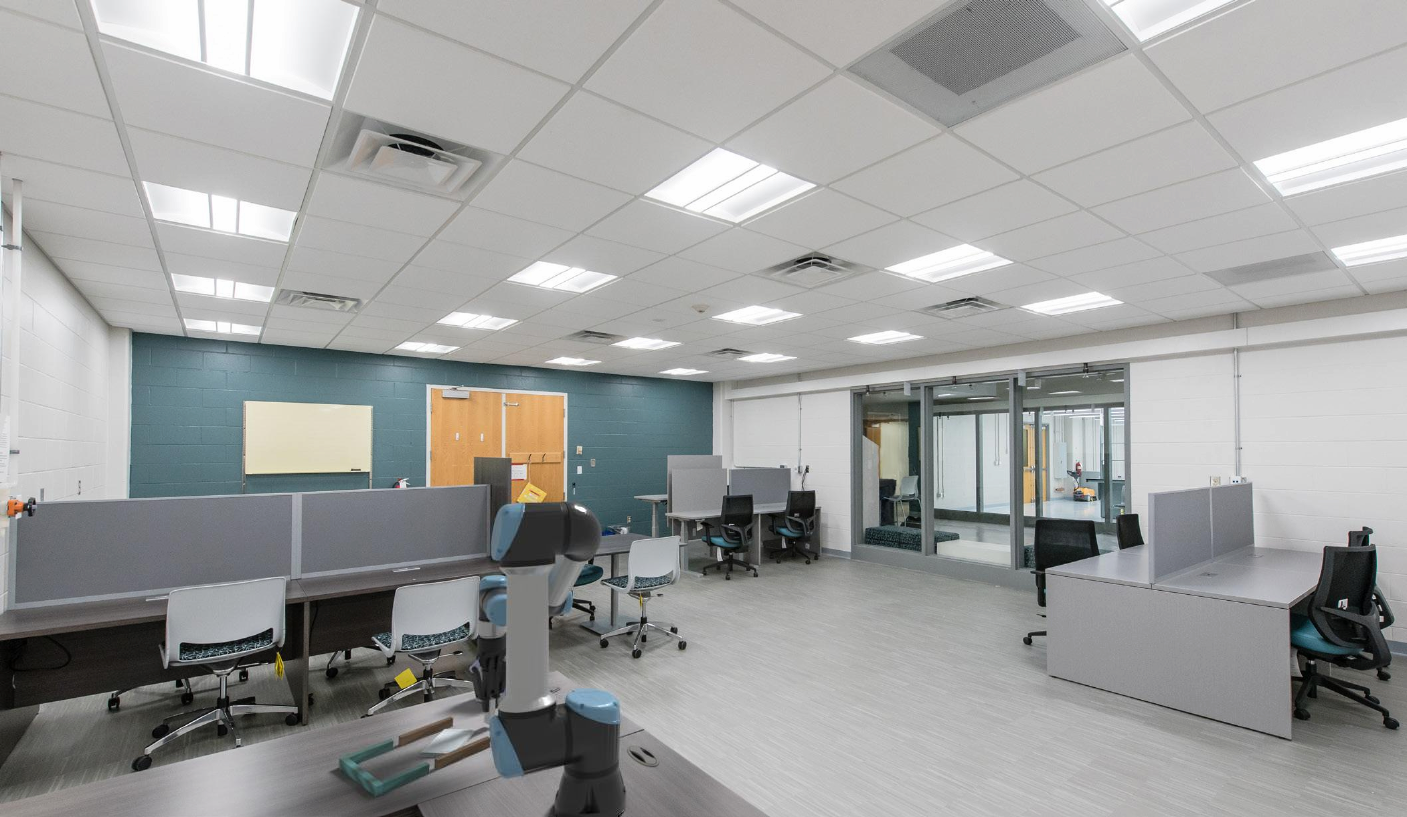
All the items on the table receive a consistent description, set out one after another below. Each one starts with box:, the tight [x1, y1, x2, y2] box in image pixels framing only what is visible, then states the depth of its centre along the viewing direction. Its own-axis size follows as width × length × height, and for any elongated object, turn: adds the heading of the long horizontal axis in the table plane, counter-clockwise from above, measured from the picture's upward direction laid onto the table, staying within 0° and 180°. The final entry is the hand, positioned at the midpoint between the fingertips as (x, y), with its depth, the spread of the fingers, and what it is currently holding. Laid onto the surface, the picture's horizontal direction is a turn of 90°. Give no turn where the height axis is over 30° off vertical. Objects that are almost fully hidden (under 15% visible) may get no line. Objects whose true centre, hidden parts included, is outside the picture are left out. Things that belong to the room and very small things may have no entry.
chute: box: [338, 716, 491, 798], centre depth 149 cm, size 19×28×2 cm
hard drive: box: [419, 728, 475, 758], centre depth 155 cm, size 2×8×12 cm
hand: (489, 722), depth 165 cm, fingers closed
